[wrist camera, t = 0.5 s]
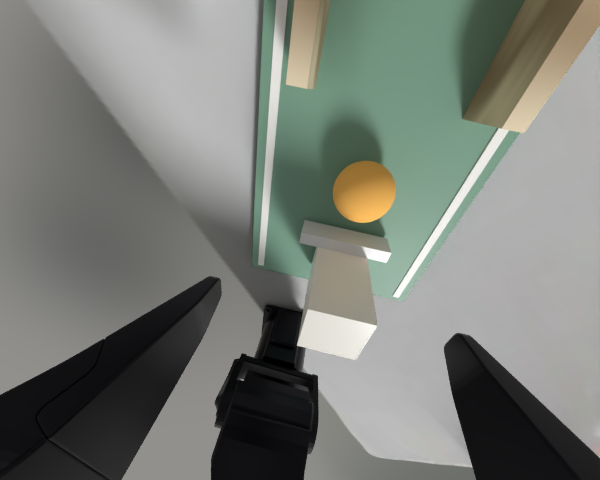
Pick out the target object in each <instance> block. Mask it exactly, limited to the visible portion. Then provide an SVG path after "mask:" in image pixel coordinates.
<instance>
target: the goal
mask: <svg viewBox="0 0 600 480" xmlns="http://www.w3.org/2000/svg"><path fill="white" fill-rule="evenodd" d="M329 6H330V0H294V10H293V20H292V30H291V39H290V49H289V59H288V68H287V78H286V85H290V86H295V87H300V88H305V89H315V88H316V83H317V77H318V71H319V65H320V59H321V53H322V47H323V41H324V35H325V30H326V24H327V18H328V12H329ZM599 26H600V0H525V1H524V3H523V5H522V7H521V9H520V10H519V12H518V14H517V16H516V18H515V20H514V22H513V24H512V26H511V27H510V29H509V31H508V33H507V35H506V37H505V39H504V41H503V43H502V44H501V46H500V48H499V50H498V52H497V54H496V56H495V58H494V60H493V61H492V63H491V65H490V67H489V69H488V71H487V73H486V75H485V77H484V78H483V80H482V82H481V84H480V86H479V88H478V90H477V92H476V94H475V95H474V97H473V99H472V101H471V103H470V105H469V107H468V109H467V110H466V112H465V114H464V116H463V118H462V119H464V120H468V121H472V122H476V123H480V124H484V125H488V126H492V127H497V128H501V129H505V130H510V131H515V132H520V133H525V131H526V130H527V128H528V127H529V125H530V124H531V123H532V121H533V120H534V118H535V117H536V115H537V114H538V113H539V111H540V110H541V108H542V107H543V105H544V104H545V103H546V101H547V100H548V98H549V97H550V95H551V94H552V93H553V91H554V90H555V88H556V87H557V86H558V84H559V83H560V81H561V80H562V78H563V77H564V76H565V74H566V73H567V71H568V70H569V68H570V67H571V66H572V64H573V63H574V61H575V60H576V58H577V57H578V56H579V54H580V53H581V51H582V50H583V48H584V47H585V46H586V44H587V43H588V41H589V40H590V38H591V37H592V36H593V34H594V33H595V31H596V30H597V28H598V27H599Z"/></svg>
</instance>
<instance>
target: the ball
mask: <svg viewBox="0 0 600 480" xmlns="http://www.w3.org/2000/svg"><path fill="white" fill-rule="evenodd" d="M395 195H396V185H395V181H394V178H393V176H392V174H391V173H390V172H389V170H388V169H387V168H385V167H384V166H383V165H381V164H379V163H377V162H373V161H359V162H356V163H353V164H351V165H349V166H348V167H346V168H345V169H344V170H343V171H342V172H341V173H340V174H339V176H338V177H337V179H336V181H335V184H334V187H333V200H334V204H335V206H336V208H337V210H338V211H339V212H340V213H341V214H342V215H343V216H344V217H345V218H347V219H349V220H351V221H354V222H358V223H367V222H371V221H374V220H377V219H379V218H380V217H382V216H383V215H384V214H385V213H386V212H387V211H388V210H389V209H390V208H391V206H392V204H393V202H394V199H395Z"/></svg>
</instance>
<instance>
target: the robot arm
mask: <svg viewBox="0 0 600 480" xmlns="http://www.w3.org/2000/svg"><path fill="white" fill-rule="evenodd" d="M221 293H222V292H221V280H220V278H217V277H212V276H209V277H207V278H205V279H204V280H202V281H200V282H199V283H197V284H195V285H193V286H192V287H190V288H188V289H187V290H185V291H183V292H182V293H180V294H178V295H177V296H175V297H173V298H171V299H170V300H168V301H167V302H165V303H163V304H161V305H160V306H158V307H156V308H155V309H153V310H151V311H150V312H148V313H146V314H144V315H143V316H141V317H139V318H138V319H136V320H134V321H133V322H131V323H129V324H128V325H126V326H124V327H123V328H121V329H119V330H118V331H116V332H114V333H113V334H111V335H109V336H107V337H106V339H102V340H101V341H99V342H97V343H95V344H94V345H92V346H90V347H89V348H87V349H85V350H83V351H82V352H80V353H78V354H76V355H75V356H73V357H71V358H69V359H68V360H66V361H64V362H62V363H60V364H59V365H57V366H55V367H53V368H51V369H49V370H47V371H45V372H44V373H42V374H40V375H38V376H36V377H34V378H32V379H30V380H28V381H26V382H24V383H23V384H21V385H19V386H17V387H15V388H13V389H11V390H9V391H7V392H5V393H3V394H1V395H0V480H121V479H122V478H123V476H124V474H125V473H126V470H127V469H128V467H129V466H130V464H131V462H132V460H133V459H134V457H135V455H136V453H137V452H138V450H139V448H140V446H141V445H142V443H143V441H144V439H145V438H146V436H147V434H148V432H149V431H150V429H151V427H152V425H153V424H154V422H155V420H156V419H157V417H158V415H159V413H160V411H161V410H162V408H163V406H164V405H165V403H166V401H167V399H168V397H169V396H170V394H171V392H172V391H173V389H174V387H175V385H176V384H177V382H178V380H179V378H180V377H181V375H182V373H183V371H184V370H185V368H186V366H187V364H188V363H189V361H190V359H191V357H192V356H193V354H194V352H195V350H196V349H197V347H198V345H199V344H200V342H201V340H202V338H203V336H204V334H205V332H206V330H207V328H208V325H209V323H210V321H211V318H212V316H213V314H214V312H215V309H216V307H217V305H218V303H219V300H220V298H221ZM302 314H303V313H299V312H295V311H291V310H287V309H283V308H279V307H275V306H270V305H266V306H265V309H264V316H263V326H262V336H261V338H260V342H259V344H258V348H257V351H256V354H255V357H254V358H253V357H250V356H246V354H243V353H242V354H241V357H240V359H235V360H234V362H233V365H232V367H231V369H230V372H229V374H228V376H227V378H226V380H225V382H224V384H223V386H222V388H221V390H220V392H219V394H218V396H217V398H216V400H215V406H216V409H217V413H216V417H217V418H216V422H215V427H217V428H220V429H221V431H220V434H219V437H218V439H217V443H216V445H215V449H214V451H213V455H212V458H211V480H304V471H305V465H306V459H307V454H310V453H311V452H312V450H313V447H314V444H315V440H316V435H317V428H318V376H317V375H314V374H313V375H311V374H307V373H304V372H302V370H303V363H304V356H305V349H306V348H304V347H300V346H297V342H298V337H299V331H300V326H301V320H302ZM444 353H445V359H446V364H447V370H448V375H449V380H450V386H451V391H452V395H453V399H454V403H455V407H456V410H457V414H458V417H459V421H460V424H461V428H462V431H463V435H464V438H465V442H466V445H467V449H468V452H469V456H470V459H471V463H472V467H473V470H474V474H475V477H476V480H600V458H599V457H598V456H597V455H596V454H595V453H594V452H593V451H592V450H591V449H590V448H589V447H588V446H586V445H585V444H584V443H583V442H582V441H581V440H580V439H579V438H578V437H577V436H576V435H575V434H574V433H573V432H572V431H571V430H570V429H568V428H567V427H566V426H565V425H564V424H563V423H562V422H561V421H560V420H559V419H558V418H557V417H556V416H555V415H554V414H553V413H552V412H551V411H549V410H548V409H547V408H546V407H545V406H544V405H543V404H542V403H541V402H540V401H539V400H538V399H537V398H536V397H535V396H534V395H533V394H531V393H530V392H529V391H528V390H527V389H526V388H525V387H524V386H523V385H522V384H521V383H520V382H519V381H518V380H517V379H516V378H515V377H513V376H512V375H511V374H510V373H509V372H508V371H507V370H506V369H505V368H504V367H503V366H502V365H501V364H500V363H499V362H498V361H497V360H495V359H494V358H493V357H492V356H491V355H490V354H489V353H488V352H487V351H486V350H485V349H484V348H483V347H482V346H481V345H480V344H479V343H478V342H476V341H475V340H474V339H473V338H472V337H471V336H469V335H466V334H461V333H456V334H455V335H454V336H453V337H452V338H451V339H450V340H449V341H448V342H447V343H446V344H445V346H444ZM240 379H244V381H241V380H240Z"/></svg>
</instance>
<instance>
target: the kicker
mask: <svg viewBox="0 0 600 480" xmlns="http://www.w3.org/2000/svg"><path fill="white" fill-rule="evenodd" d="M299 243H302V244H306V245H311V246H315V247H316V250H315V253H314V257H313V261H312V265H311V269H310V275H309V281H308V286H307V292H306V297H305V303H304V309H303V314H302V320H301V326H300V331H299V337H298V342H297V346H300V347H304V348H309V349H313V350H317V351H321V352H325V353H329V354H333V355H337V356H341V357H345V358H349V359H353V360H356V358H357V357H358V355H359V354H360V352H361V351H362V349H363V347H364V346H365V344H366V343H367V341H368V340H369V338H370V337H371V335H372V334H373V332H374V330H375V329H376V327H377V319H376V313H375V306H374V299H373V293H372V286H371V279H370V272H369V266H368V259H371V260H376V261H380V262H384V263H387V261H388V259H389V257H390V255H391V250H390V246H389V243H388V240H387V238H383V237H378V236H374V235H369V234H365V233H361V232H356V231H352V230H347V229H343V228H339V227H334V226H330V225H325V224H321V223H316V222H312V221H308V220H305V221H304V225H303V228H302V232H301V236H300V241H299Z"/></svg>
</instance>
